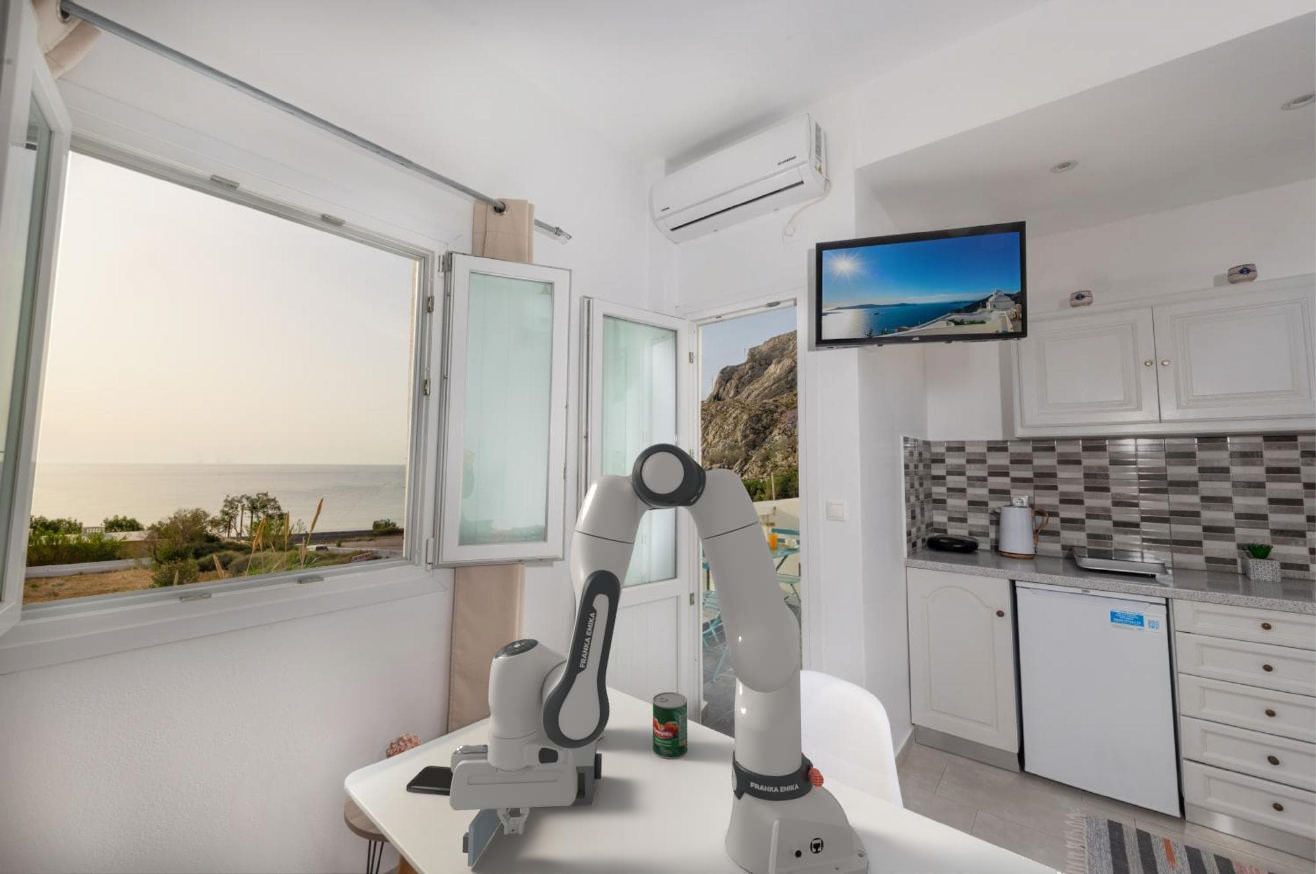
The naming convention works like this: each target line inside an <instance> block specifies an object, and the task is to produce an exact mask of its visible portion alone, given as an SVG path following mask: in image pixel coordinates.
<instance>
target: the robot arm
mask: <svg viewBox="0 0 1316 874" xmlns="http://www.w3.org/2000/svg"><path fill="white" fill-rule="evenodd" d="M631 470H632V471H631V472H632V473H630V474H628V475H624V476H623V475H618V474H605V475H602V476H598V477H597V478H595V479H594V480H593V481H592V482H591V484H590V486H589V488H588V490H587V492H586V494H585V497H584V500H583V502H582V505H581V507H580V510H579V513H578V516H577V520H576V524H575V527H574V531H573V535H572V541H571V546H570V553H569V554H570V555H569V572H570V577H571V581H572V585H573V590H574V594H575V595H574V596H575V608H576V609H575V619H574V624H573V625H574V626H573V631H572V636H571V640H570V645H569V651H568V652H563V651H559V650H555V649H552V648H550V647H548V646H545V645H544V644H543V643H541V642H540V641H539V640H538V639H535V638H523V639H519V640H515V641H511V642H509V643H507V644H506V645H504V646H502V647H501V648H499V650H498V651H497V652H496V653H495V655H494V656H493V659H492V662H491V666H490V671H489V682H488V706H489V710H490V718H489V720H488V725H487V744H476V745H469V744H466V745H461V746H460V748H457V749H455V750H454V751H453V752H452V754H451V758H450V767H451V771H452V773H453V778H452V783H451V789H450V796H449V805H450V807H451V808H452V810H453V811H470V810H472V811H474V810H476V811H477V810H481V809H497V815H498V817H499V818H500V820H501V823H502V825H503V835H504V836H511V835H523V833H524V830H525V821H526V819H527V817H528V816H529V813H530V810H531V808H540V807H541V808H543V807H544V808H545V807H548V806H550V807H570V806H569V805H571V804H572V803H573V802H574V800H575V798H576V794H577V772H576V764H575V758H574V755H573V753H572V751H571V750H570V749H573V748H580V747H583V746H586V745H588V744H590V743H591V742H593V741H594V740H595V739H597V738H598V737H599V736H600V734H601V733H602V732H603V730H604V731H605V729H606V727H607V725H608V722H609V718H610V713H611V712H610V709H611V708H610V701H609V695H608V691H607V684H606V681H607V680H606V677H607V669H608V664H609V659H610V651H611V647H612V642H613V636H614V631H615V624H616V619H617V612H618V607H619V605H620V604H619V603H620V599H621V596H622V593H623V592H622V591H623V588H624V584H625V581H626V577H627V573H628V572H629V571H628V570H629V568H630V563H631V560H632V556H633V552H634V549H635V544H636V539H637V534H638V530H639V526H640V523H641V520H642V518H643V516H644V515H645V514H646V512H648V511H655V510H669V509H674V508H677V507H682V508H684V509H685V510H687V512H689V514H690V515H691V517H692V519H693V521H694V523H695V526H696V529H697V532H698V536H699V539H700V543H701V545H702V549H703V552H704V555H705V556H704V557H705V558H706V562H707V565H708V567H709V570H710V574H711V576H712V581H713V585H714V588H715V592H716V599H717V603H718V604H717V605H718V609H719V615H720V619H721V624H722V628H723V632H724V636H725V640H726V645H727V648H728V649H727V650H728V654H729V660H730V665H731V668H732V670H733V671H732V672H733V673H734V675H735V677H736V680H735V681H736V682H735V694H734V695H735V697H734V707H733V708H734V750H733V752H732V757H731V758H732V761H731V787H732V791H733V799H732V807H731V812H730V813H731V814H730V819H729V824H728V828H727V832H726V835H725V846H726V849H727V852H728V854H729V855H730V856H731V858H732V859H733V860H734V861H735V862H736V863H737V864H738V865H739V866H740V867H742V868H743V869H744V870H746V871H747V872H749V873H751V874H868V873H869V872H868V871H869V858H868V854H867V850H866V847H865V846H864V844H863V841H862V839H861V838H860V837H859V835H858V833H857V832H856V831H855V829H854V828H853V827H852V826H851V824H850V822H849V820H848V817H847V814H846V812H845V810H844V808H843V807H842V805H841V803H840V802H839V800H838V799H837V798H836V797H835V795H834V794H833V793H832V792H831V791H829V790H828V789H827V788H826V787H824V786H823V785H824V783H825V782H824V781H825V779H824V776H823V775H822V773H821V771H820V770H819V769H818V768H814V764H813V763H812V761H811V760H810V759H809V758H808V757H807V756H806V755H805V754H804V752H803V751H802V712H801V711H802V710H801V709H802V708H801V707H802V704H801V703H802V701H801V699H802V697H801V692H802V691H801V640H800V638H801V637H800V636H801V634H800V633H801V632H800V624H799V621H798V619H797V617H796V615H795V613H794V612H793V610H792V609H791V608H790V607H789V606H788V605H787V604H786V601H785V598H784V594H783V591H782V588H781V587H782V586H781V584H780V580H779V577H778V572H777V568H776V564H775V562H774V559H773V555H772V553H771V549H770V547H769V544H768V541H767V538H766V535H765V533H764V530H763V527H762V524H761V520H760V518H759V516H758V512H757V510H756V507H755V505H754V503H753V501H752V499H751V497H750V494H749V492H748V490H747V489H746V487H745V485H744V482H743V481H742V479H741V478H740V476H739V475H738V474H737V473H736V472H735V471H733V470H731V469H728V468H727V469H726V468H714V469H710V470H705V468H704V467H703V466H702V465H700V464H699V462H698V461H696V460H695V459H693V457H692V456H691V455H690V454H688V452H686V451H685V450H684V449H683V448H680V447H679V446H677V445H674V444H672V443H657V444H653V445H650V446H648V447H647V448H645V449H644V450H642V451H641V452H640V453H639V455H638V456H637V457H636V459H635V461H634V463H633V466H632V469H631ZM569 748H570V749H569ZM508 808H510V809H520V810H519V813H520V814H521V815H520V816H517V817H515V816H514V817H512V816H511V814H510V813H509V810H508V811H507V809H508Z"/></svg>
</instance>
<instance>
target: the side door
mask: <svg viewBox="0 0 1316 874" xmlns="http://www.w3.org/2000/svg"><path fill="white" fill-rule="evenodd" d="M510 809H511V808H508V809H507V811H508V812H509V811H510ZM501 823H502V822H501V820H500V818H499V817H498V815H497V809H479V811H478V812H477V814H476V815H475V817H474V818H473V819H472V820H471V821H470V823H469V825H468V831H467V832H465V833H464V834H463V836H462V853H463V854H467V867H471V868H472V867H474V866H475V863H476V862H477V861H478V860H479V858H480V855H482V852H483V851H484V850H485V848H486V847H487V845H488V843H489V841H490V840H491V838H492V837H493V835H494V834H495V832H496V831H497V829H498V827H499V826H500V824H501Z"/></svg>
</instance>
